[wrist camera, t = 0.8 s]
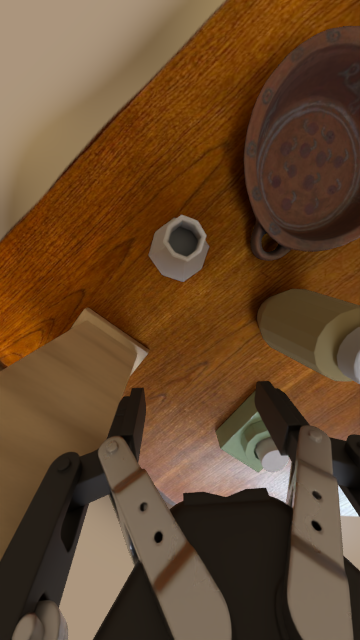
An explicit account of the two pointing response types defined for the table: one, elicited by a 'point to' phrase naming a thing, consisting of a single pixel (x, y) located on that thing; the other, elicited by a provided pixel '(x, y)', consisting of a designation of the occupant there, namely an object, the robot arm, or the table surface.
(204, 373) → the table surface
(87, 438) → the stand
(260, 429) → the green button base
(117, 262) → the table surface
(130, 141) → the table surface
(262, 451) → the grey push button
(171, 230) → the flask
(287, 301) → the squeeze bottle
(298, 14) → the table surface
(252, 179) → the dish
